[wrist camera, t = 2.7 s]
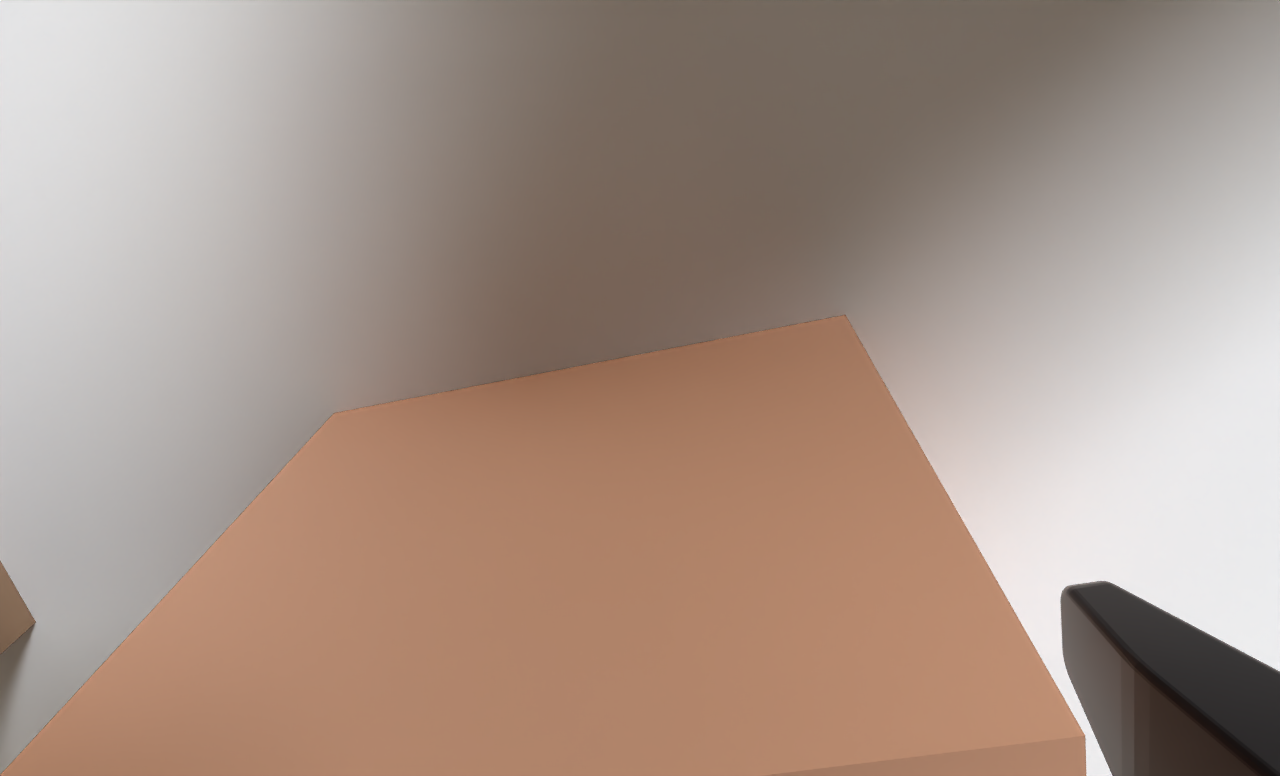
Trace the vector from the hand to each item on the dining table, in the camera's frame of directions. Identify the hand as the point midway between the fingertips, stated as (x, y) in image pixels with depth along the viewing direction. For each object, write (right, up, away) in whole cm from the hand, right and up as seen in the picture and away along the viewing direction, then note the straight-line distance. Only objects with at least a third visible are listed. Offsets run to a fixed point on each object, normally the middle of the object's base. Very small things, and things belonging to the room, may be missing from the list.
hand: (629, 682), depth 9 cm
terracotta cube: (0, +1, +2) cm, 2 cm away
